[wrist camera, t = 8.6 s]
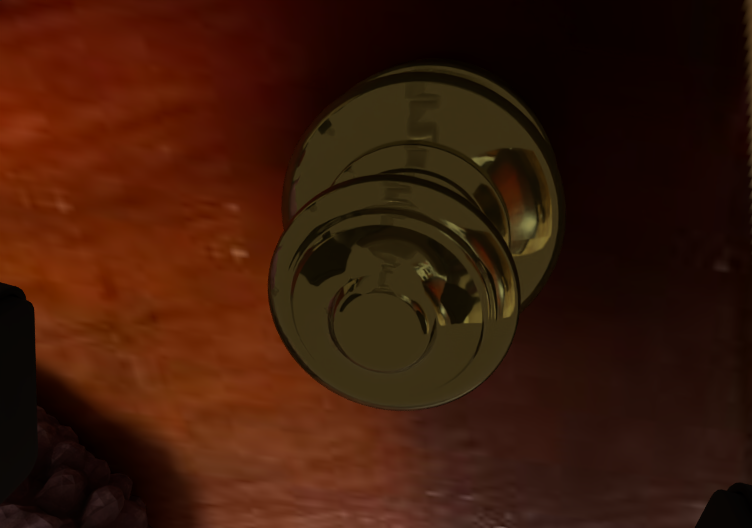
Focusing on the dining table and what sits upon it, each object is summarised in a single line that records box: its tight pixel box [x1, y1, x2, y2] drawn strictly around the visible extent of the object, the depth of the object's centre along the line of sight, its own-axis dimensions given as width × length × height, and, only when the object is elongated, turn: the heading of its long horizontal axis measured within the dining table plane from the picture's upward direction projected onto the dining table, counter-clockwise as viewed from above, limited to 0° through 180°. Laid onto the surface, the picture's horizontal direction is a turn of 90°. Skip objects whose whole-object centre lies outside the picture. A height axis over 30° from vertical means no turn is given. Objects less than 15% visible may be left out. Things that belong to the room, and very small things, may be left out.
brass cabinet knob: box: [268, 58, 566, 411], centre depth 16 cm, size 7×7×10 cm
